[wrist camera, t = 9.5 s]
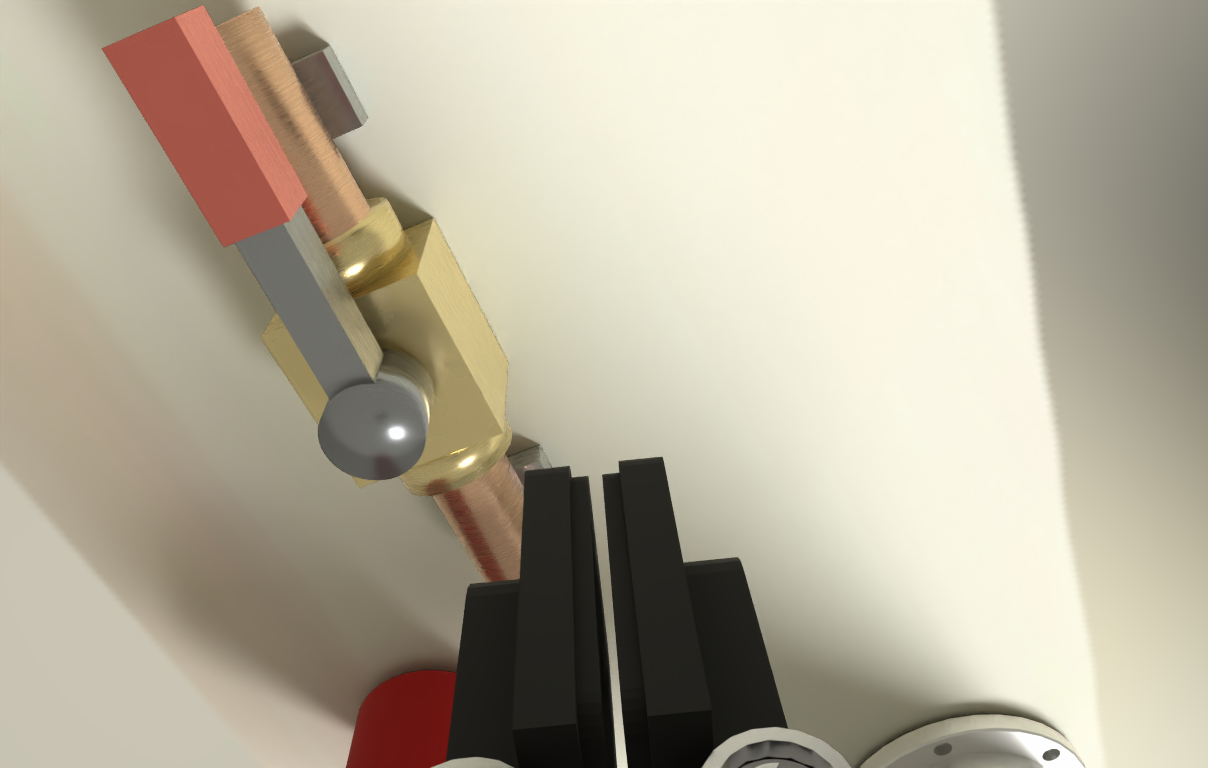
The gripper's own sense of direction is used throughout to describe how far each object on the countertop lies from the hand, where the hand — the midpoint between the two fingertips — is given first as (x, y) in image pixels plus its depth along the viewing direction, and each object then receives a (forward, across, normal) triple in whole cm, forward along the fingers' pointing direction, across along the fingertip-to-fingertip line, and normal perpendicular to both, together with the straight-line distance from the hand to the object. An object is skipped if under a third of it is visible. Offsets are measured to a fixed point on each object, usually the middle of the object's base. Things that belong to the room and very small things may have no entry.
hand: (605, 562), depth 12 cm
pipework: (+22, +7, +6) cm, 24 cm away
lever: (+17, +8, +1) cm, 18 cm away
